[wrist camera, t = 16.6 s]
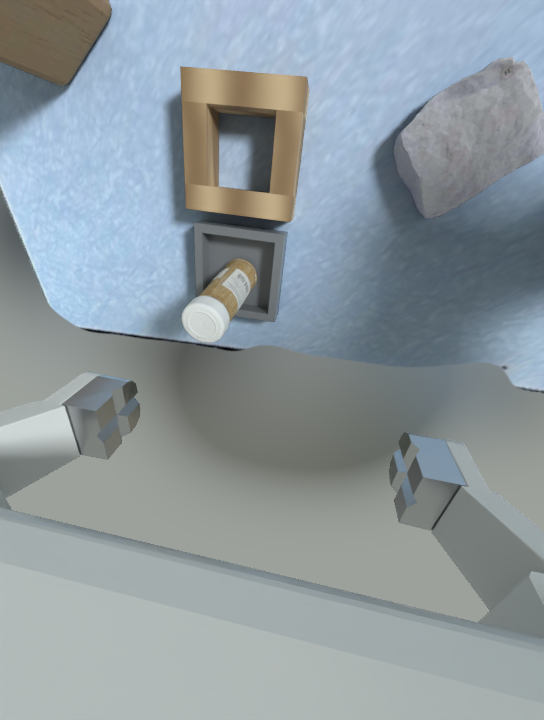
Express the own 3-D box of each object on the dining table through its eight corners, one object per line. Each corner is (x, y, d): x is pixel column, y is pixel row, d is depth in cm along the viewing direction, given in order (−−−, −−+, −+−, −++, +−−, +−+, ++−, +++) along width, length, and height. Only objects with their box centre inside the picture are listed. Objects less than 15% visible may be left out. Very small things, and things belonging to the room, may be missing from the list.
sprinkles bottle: (222, 259, 39) (173, 304, 29) (255, 256, 38) (217, 303, 27) (229, 291, 42) (188, 344, 31) (260, 290, 41) (228, 344, 30)
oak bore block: (309, 90, 30) (306, 76, 27) (293, 219, 36) (289, 221, 33) (196, 80, 31) (180, 66, 28) (199, 207, 37) (185, 208, 34)
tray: (287, 231, 37) (284, 234, 35) (277, 314, 43) (274, 322, 40) (203, 220, 38) (193, 222, 36) (204, 302, 44) (196, 309, 41)
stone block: (380, 148, 33) (423, 228, 34) (385, 130, 29) (433, 223, 30) (496, 59, 29) (539, 155, 30) (522, 22, 24) (572, 136, 26)
